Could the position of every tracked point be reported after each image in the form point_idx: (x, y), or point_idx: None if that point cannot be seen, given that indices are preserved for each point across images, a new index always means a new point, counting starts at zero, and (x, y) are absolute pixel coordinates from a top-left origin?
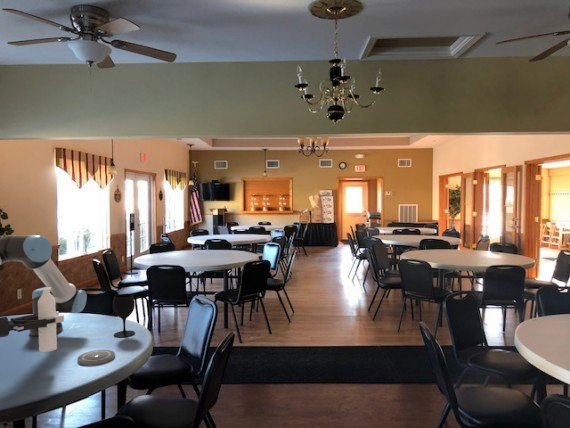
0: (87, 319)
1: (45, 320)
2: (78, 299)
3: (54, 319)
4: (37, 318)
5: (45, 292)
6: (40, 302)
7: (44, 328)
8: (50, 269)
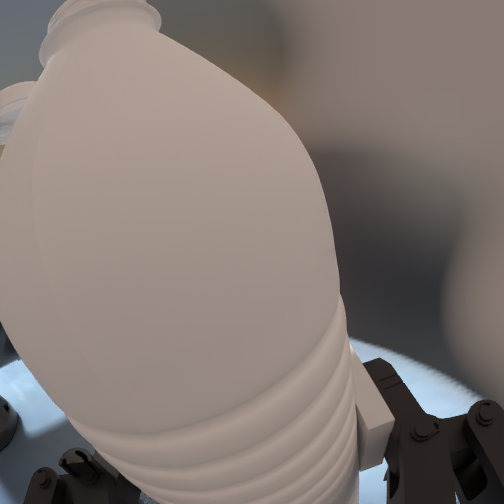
0: (21, 365)
1: (489, 400)
2: None
3: (388, 366)
4: None
5: (142, 11)
6: (216, 178)
7: (355, 500)
8: None
